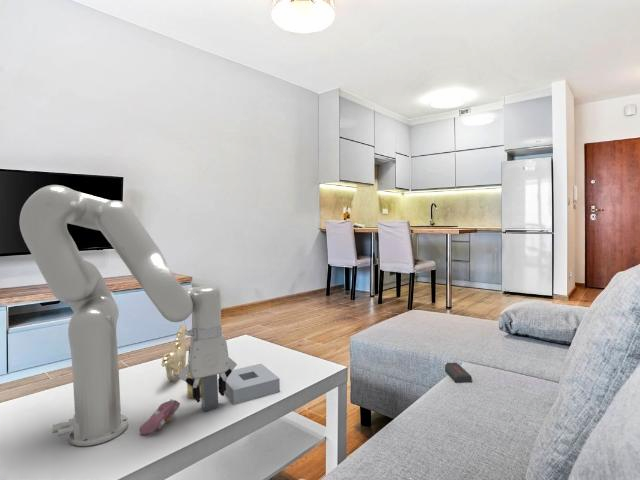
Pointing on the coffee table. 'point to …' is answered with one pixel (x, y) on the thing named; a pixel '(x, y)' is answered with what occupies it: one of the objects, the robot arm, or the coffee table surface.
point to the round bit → (189, 387)
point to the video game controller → (160, 417)
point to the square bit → (209, 393)
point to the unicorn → (176, 355)
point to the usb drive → (457, 373)
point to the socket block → (251, 383)
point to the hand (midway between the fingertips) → (209, 396)
